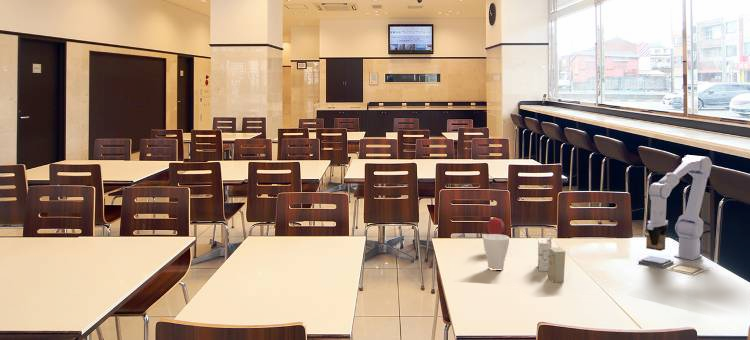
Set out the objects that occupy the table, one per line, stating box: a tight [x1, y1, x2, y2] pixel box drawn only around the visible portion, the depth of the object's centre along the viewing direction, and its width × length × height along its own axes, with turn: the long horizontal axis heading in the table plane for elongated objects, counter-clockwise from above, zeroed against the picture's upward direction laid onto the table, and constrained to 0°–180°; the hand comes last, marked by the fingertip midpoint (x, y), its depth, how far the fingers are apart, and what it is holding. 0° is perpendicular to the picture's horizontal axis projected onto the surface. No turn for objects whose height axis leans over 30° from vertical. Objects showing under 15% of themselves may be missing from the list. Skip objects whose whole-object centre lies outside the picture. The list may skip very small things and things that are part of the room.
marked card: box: [665, 263, 706, 276], centre depth 249 cm, size 11×11×1 cm
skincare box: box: [547, 247, 566, 283], centre depth 236 cm, size 6×4×12 cm
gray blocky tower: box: [537, 231, 552, 272], centre depth 251 cm, size 9×5×15 cm, turn 168°
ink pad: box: [638, 255, 674, 269], centre depth 257 cm, size 10×10×2 cm
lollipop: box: [486, 217, 505, 235], centre depth 281 cm, size 8×8×15 cm
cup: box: [482, 233, 510, 270], centre depth 251 cm, size 10×10×14 cm
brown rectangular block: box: [645, 233, 666, 252], centre depth 257 cm, size 4×6×6 cm, turn 40°
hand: (656, 244), depth 257 cm, fingers closed on brown rectangular block, 4 cm apart
